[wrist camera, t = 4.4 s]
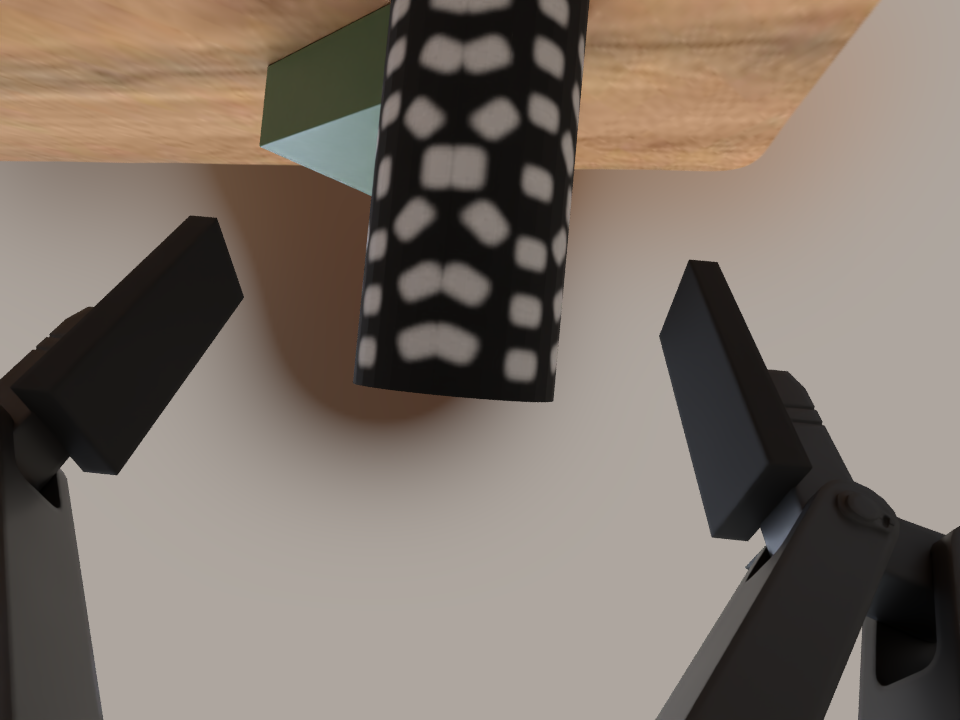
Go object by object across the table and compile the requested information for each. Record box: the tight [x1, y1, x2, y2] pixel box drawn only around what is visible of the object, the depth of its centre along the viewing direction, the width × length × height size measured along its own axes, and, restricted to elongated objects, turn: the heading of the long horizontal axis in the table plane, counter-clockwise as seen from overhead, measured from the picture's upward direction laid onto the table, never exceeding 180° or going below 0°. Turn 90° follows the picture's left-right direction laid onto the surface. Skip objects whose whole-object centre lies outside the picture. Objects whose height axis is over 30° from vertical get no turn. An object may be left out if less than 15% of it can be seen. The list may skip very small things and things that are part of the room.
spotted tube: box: [353, 0, 589, 402], centre depth 21 cm, size 8×8×20 cm
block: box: [260, 4, 391, 196], centre depth 35 cm, size 12×12×6 cm
